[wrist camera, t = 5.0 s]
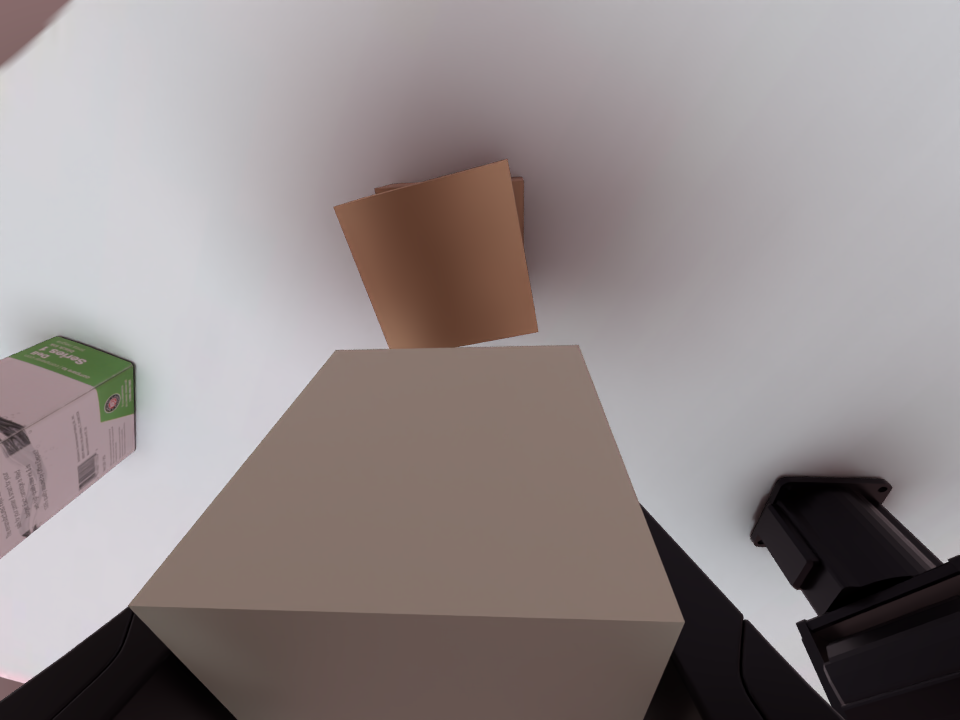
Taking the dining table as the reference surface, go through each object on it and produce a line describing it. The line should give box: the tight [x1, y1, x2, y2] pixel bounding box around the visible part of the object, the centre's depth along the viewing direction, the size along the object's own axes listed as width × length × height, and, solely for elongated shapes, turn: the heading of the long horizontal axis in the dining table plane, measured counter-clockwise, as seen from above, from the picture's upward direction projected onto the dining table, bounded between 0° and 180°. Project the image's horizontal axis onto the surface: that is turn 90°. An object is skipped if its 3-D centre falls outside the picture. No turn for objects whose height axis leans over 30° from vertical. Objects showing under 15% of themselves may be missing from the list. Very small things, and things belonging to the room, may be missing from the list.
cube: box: [128, 345, 685, 720], centre depth 7 cm, size 5×5×5 cm
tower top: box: [334, 159, 538, 349], centre depth 15 cm, size 6×6×3 cm
